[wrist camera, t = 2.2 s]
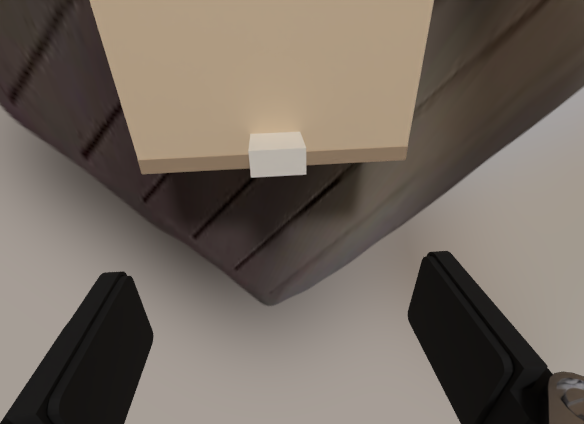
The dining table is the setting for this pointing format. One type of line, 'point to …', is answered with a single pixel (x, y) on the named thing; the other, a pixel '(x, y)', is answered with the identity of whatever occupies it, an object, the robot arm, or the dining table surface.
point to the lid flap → (265, 80)
